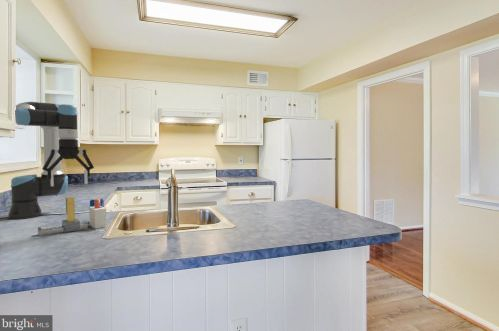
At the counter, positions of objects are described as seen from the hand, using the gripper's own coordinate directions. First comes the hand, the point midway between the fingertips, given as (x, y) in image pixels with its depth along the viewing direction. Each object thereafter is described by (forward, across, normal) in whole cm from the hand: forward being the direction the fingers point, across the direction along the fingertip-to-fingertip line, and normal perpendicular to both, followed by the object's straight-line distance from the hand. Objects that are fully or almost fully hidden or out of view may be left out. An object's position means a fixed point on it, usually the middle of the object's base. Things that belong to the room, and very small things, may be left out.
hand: (69, 185), depth 137 cm
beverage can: (+21, +14, +11) cm, 28 cm away
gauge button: (+16, +12, 0) cm, 20 cm away
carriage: (+21, 0, 0) cm, 21 cm away
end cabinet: (+21, +12, 0) cm, 24 cm away
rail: (+21, -3, 0) cm, 21 cm away
